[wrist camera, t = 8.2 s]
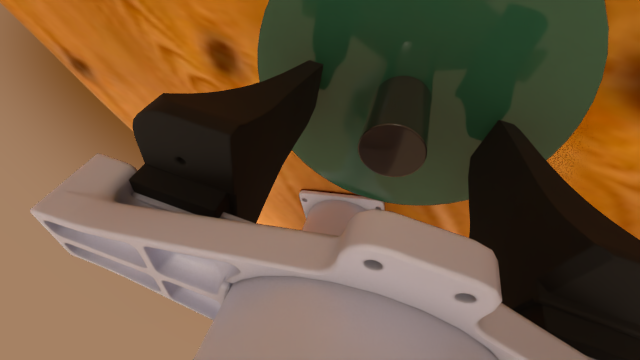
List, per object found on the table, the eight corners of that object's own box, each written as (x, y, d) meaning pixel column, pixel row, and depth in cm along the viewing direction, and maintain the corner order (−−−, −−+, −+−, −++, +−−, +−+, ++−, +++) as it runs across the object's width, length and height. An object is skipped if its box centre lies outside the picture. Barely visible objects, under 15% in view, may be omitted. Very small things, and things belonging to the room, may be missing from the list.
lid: (532, 202, 16) (550, 281, 13) (299, 181, 20) (273, 237, 17) (702, -175, 7) (878, -196, 4) (224, -73, 11) (143, -47, 8)
